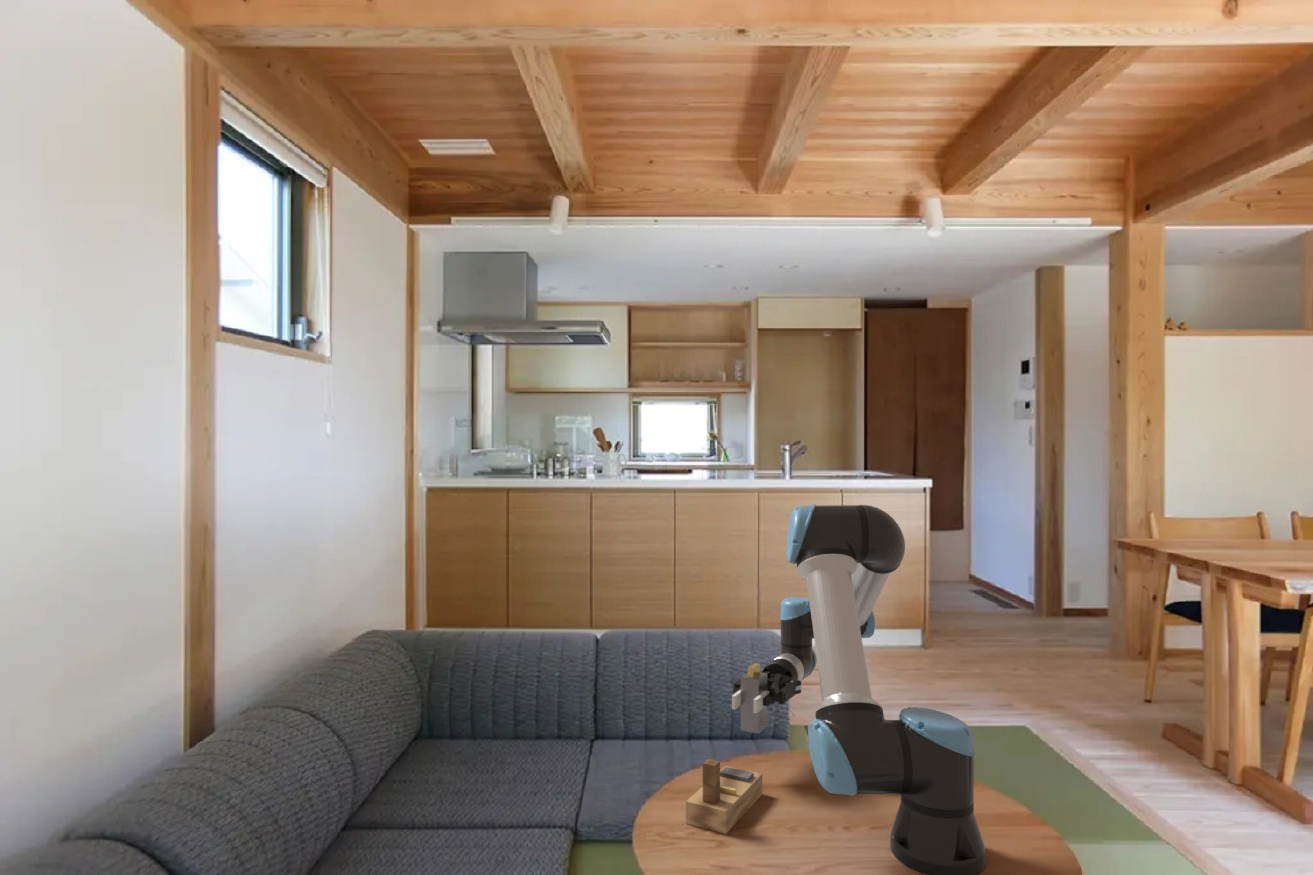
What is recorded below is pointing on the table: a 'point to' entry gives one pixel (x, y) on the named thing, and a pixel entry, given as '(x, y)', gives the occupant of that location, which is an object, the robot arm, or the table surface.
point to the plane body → (722, 797)
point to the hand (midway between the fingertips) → (744, 704)
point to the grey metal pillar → (750, 689)
